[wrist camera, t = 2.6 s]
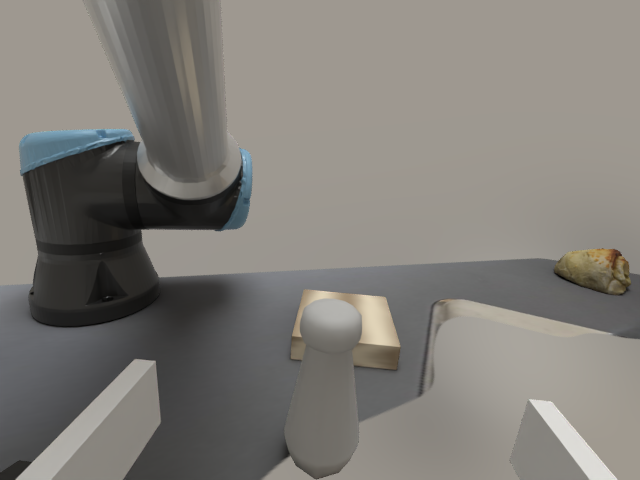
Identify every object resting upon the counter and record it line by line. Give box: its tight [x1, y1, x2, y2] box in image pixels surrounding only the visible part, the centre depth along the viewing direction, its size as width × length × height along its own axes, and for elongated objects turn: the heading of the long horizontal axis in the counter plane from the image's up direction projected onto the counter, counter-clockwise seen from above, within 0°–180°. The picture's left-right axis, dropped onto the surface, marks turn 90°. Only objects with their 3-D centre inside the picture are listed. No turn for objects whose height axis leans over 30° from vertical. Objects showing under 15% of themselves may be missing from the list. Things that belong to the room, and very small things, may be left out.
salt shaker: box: [284, 299, 362, 479], centre depth 23 cm, size 6×6×13 cm
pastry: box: [554, 248, 631, 295], centre depth 67 cm, size 14×12×8 cm
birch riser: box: [291, 290, 400, 370], centre depth 41 cm, size 12×12×3 cm
